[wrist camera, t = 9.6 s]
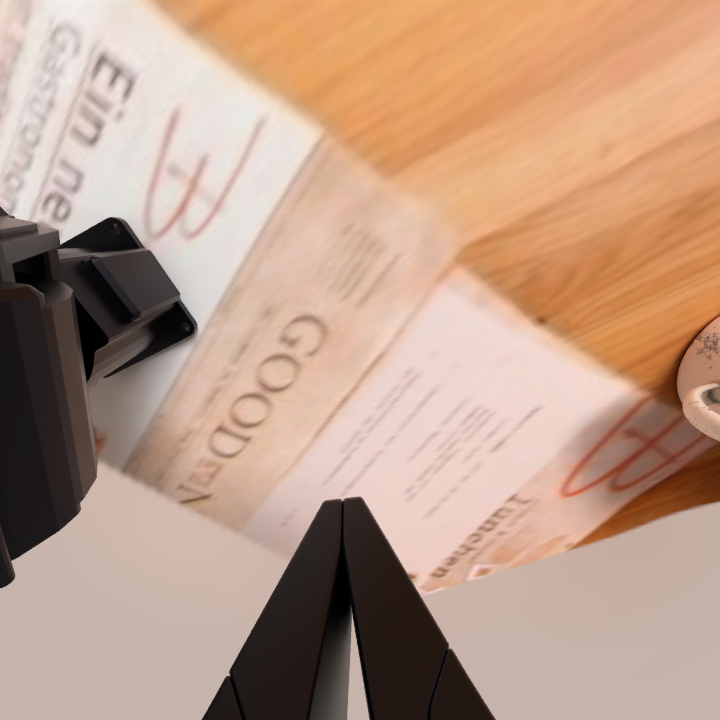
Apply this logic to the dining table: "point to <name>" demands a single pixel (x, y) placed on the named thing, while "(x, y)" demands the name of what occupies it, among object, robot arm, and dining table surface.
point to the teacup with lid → (702, 381)
